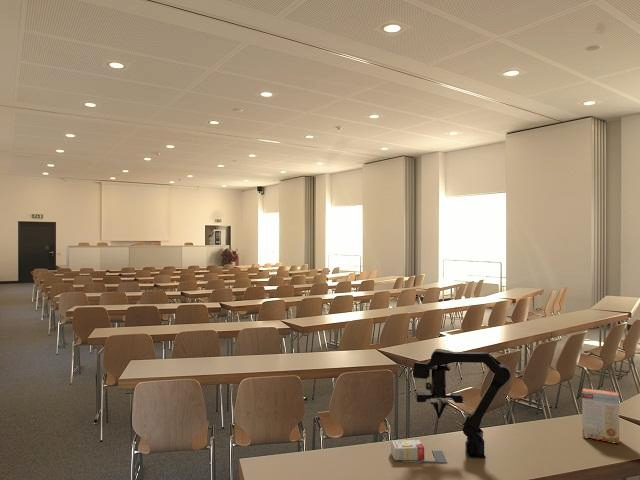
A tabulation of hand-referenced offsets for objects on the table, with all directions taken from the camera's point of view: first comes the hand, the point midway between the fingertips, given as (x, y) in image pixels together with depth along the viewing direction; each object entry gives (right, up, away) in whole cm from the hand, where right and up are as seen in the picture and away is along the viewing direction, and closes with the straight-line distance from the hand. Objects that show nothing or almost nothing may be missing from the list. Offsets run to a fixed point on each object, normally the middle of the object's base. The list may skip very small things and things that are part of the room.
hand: (438, 418), depth 206 cm
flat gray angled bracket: (-8, -13, -7) cm, 17 cm away
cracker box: (+74, -14, +12) cm, 76 cm away
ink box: (-8, -10, -7) cm, 15 cm away
